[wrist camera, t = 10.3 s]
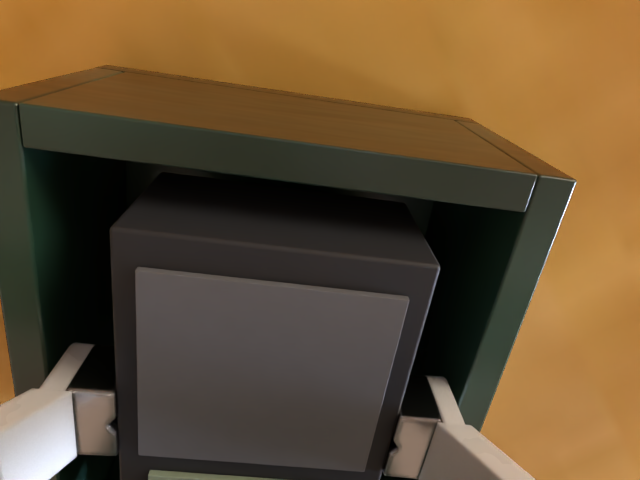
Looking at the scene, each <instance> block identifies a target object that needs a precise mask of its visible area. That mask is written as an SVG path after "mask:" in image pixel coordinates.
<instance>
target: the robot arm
mask: <svg viewBox="0 0 640 480" xmlns="http://www.w3.org/2000/svg"><path fill="white" fill-rule="evenodd" d="M117 413H118V404H117V388H116V371H115V347H114V346H107V345H98V344H97V345H95V344H87V343H78V342H75V343H73V344H71V345H70V346H69V347H68V349H67V350H66V351H65V353H64V354H63V356H62V357H61V358H60V360H59V361H58V363H57V364H56V365H55V367H54V368H53V370H52V371H51V372H50V374H49V375H48V377H47V378H46V379H45V381H44V382H43V384H42V385H41V386H40V388H39V389H35V388H32V389H30V390H28V391H26V392H24V393H22V394H20V395H18V396H16V397H14V398H12V399H11V400H9V401H7V402H5V403H3V404H1V405H0V480H49V479H51V478H52V477H53V476H54V475H55V474H57V473H58V472H59V471H60V470H61V469H63V468H64V467H65V466H66V465H67V464H69V463H70V462H71V461H72V460H73V459H75V458H76V457H77V454H82V455H104V456H117V454H118V451H119V428H118V418H117ZM383 473H384V476H394V477H404V478H414V479H419V480H536V479H535V478H533V477H532V476H531V475H530V474H529V473H527V472H526V471H525V470H524V469H523V468H521V467H520V466H519V465H518V464H517V463H515V462H514V461H513V460H512V459H511V458H509V457H508V456H507V455H506V454H505V453H504V452H502V451H501V450H500V449H499V448H498V447H496V446H495V445H494V444H493V443H492V442H490V441H489V440H488V439H487V438H486V437H484V436H483V435H482V434H481V433H480V432H478V431H477V430H476V429H475V428H474V427H473V426H471V425H465V422H464V420H463V418H462V415H461V413H460V410H459V408H458V406H457V403H456V401H455V398H454V396H453V394H452V391H451V389H450V386H449V384H448V382H447V379H446V378H444V377H441V376H427V375H425V376H420V375H410V376H409V380H408V383H407V387H406V390H405V394H404V397H403V401H402V404H401V408H400V411H399V415H398V418H397V422H396V425H395V428H394V432H393V436H392V439H391V443H390V446H389V450H388V453H387V456H386V460H385V464H384V467H383Z"/></svg>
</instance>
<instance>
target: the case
mask: <svg viewBox="0 0 640 480" xmlns="http://www.w3.org/2000/svg"><path fill="white" fill-rule="evenodd" d="M161 172H169V173H176V174H184V175H192V176H200V177H208V178H215V179H223V180H231V181H239V182H247V183H254V184H262V185H270V186H278V187H286V188H294V189H301V190H309V191H317V192H325V193H333V194H340V195H348V196H356V197H364V198H372V199H379V200H387V201H395V202H403V203H405V204H406V205H407V207H408V209H409V211H410V212H411V214H412V216H413V218H414V220H415V221H416V223H417V225H418V227H419V229H420V230H421V232H422V234H423V236H424V238H425V239H426V241H427V243H428V245H429V247H430V248H431V250H432V252H433V254H434V256H435V257H436V259H437V261H438V263H439V265H440V271H439V275H438V278H437V282H436V285H435V289H434V292H433V296H432V299H431V303H430V306H429V310H428V313H427V317H426V320H425V324H424V327H423V331H422V334H421V338H420V341H419V345H418V348H417V352H416V355H415V359H414V362H413V366H412V369H411V373H410V375H420V376H425V375H427V376H441V377H444V378H446V379H447V382H448V384H449V386H450V389H451V391H452V394H453V396H454V398H455V401H456V403H457V406H458V408H459V410H460V413H461V415H462V418H463V420H464V422H465V425H471V426H473V427H474V428H475V429H476V430H477V431H478V432H480V431H481V428H482V425H483V423H484V420H485V418H486V415H487V412H488V410H489V407H490V405H491V402H492V400H493V397H494V394H495V392H496V389H497V387H498V384H499V381H500V379H501V376H502V374H503V371H504V369H505V366H506V363H507V361H508V358H509V356H510V353H511V350H512V348H513V345H514V343H515V340H516V337H517V335H518V332H519V330H520V327H521V325H522V322H523V319H524V317H525V314H526V312H527V309H528V306H529V304H530V301H531V299H532V296H533V294H534V291H535V288H536V286H537V283H538V281H539V278H540V275H541V273H542V270H543V268H544V265H545V263H546V260H547V257H548V255H549V252H550V250H551V247H552V244H553V242H554V239H555V237H556V234H557V231H558V229H559V226H560V224H561V221H562V219H563V216H564V213H565V211H566V208H567V206H568V203H569V200H570V198H571V195H572V193H573V190H574V188H575V185H576V180H575V179H573V178H572V177H570V176H568V175H566V174H565V173H563V172H561V171H560V170H558V169H556V168H554V167H553V166H551V165H549V164H547V163H546V162H544V161H542V160H541V159H539V158H537V157H535V156H534V155H532V154H530V153H529V152H527V151H525V150H523V149H522V148H520V147H518V146H517V145H515V144H513V143H511V142H510V141H508V140H506V139H504V138H503V137H501V136H499V135H498V134H496V133H494V132H492V131H491V130H489V129H487V128H486V127H484V126H482V125H480V124H479V123H477V122H475V121H474V120H472V119H469V118H462V117H455V116H448V115H442V114H435V113H428V112H421V111H415V110H408V109H401V108H394V107H388V106H381V105H374V104H367V103H360V102H354V101H347V100H340V99H333V98H327V97H320V96H313V95H306V94H300V93H293V92H286V91H279V90H273V89H266V88H259V87H252V86H245V85H239V84H232V83H225V82H218V81H212V80H205V79H198V78H191V77H185V76H178V75H171V74H164V73H158V72H151V71H144V70H137V69H130V68H124V67H117V66H110V65H104V66H100V67H96V68H93V69H89V70H84V71H80V72H76V73H71V74H67V75H63V76H58V77H54V78H50V79H46V80H41V81H37V82H33V83H28V84H24V85H20V86H15V87H11V88H7V89H3V90H0V299H1V305H2V312H3V318H4V325H5V332H6V338H7V345H8V351H9V358H10V365H11V371H12V378H13V384H14V391H15V397H16V396H18V395H20V394H22V393H24V392H26V391H28V390H30V389H32V388H35V389H39V388H40V386H41V385H42V384H43V382H44V381H45V379H46V378H47V377H48V375H49V374H50V372H51V371H52V370H53V368H54V367H55V365H56V364H57V363H58V361H59V360H60V358H61V357H62V356H63V354H64V353H65V351H66V350H67V349H68V347H69V346H70V345H71V344H73V343H75V342H78V343H87V344H95V345H97V344H98V345H107V346H114V323H113V300H112V276H111V252H110V228H111V226H112V225H113V224H114V223H115V222H116V221H117V220H118V219H119V218H120V216H121V215H122V214H123V213H124V212H125V211H126V210H127V209H128V208H129V207H130V206H131V204H132V203H133V202H134V201H135V200H136V199H137V198H138V197H139V196H140V195H141V194H142V192H143V191H144V190H145V189H146V188H147V187H148V186H149V185H150V184H151V183H152V181H153V180H154V179H155V178H156V177H157V176H158V175H159V174H160V173H161ZM49 480H120V466H119V451H118V454H117V456H104V455H82V454H77V457H76V458H75V459H73V460H72V461H71V462H70V463H69V464H67V465H66V466H65V467H64V468H63V469H61V470H60V471H59V472H58V473H57V474H55V475H54V476H53V477H52V478H51V479H49ZM380 480H419V479H414V478H404V477H394V476H384V473H383V471H382V474H381V478H380Z"/></svg>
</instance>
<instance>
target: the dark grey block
mask: <svg viewBox="0 0 640 480" xmlns="http://www.w3.org/2000/svg"><path fill="white" fill-rule="evenodd" d="M110 252H111V276H112V300H113V323H114V347H115V371H116V388H117V404H118V413H117V418H118V428H119V466H120V480H380V478H381V474H382V471H383V467H384V464H385V460H386V456H387V453H388V450H389V446H390V443H391V439H392V436H393V432H394V428H395V425H396V422H397V418H398V415H399V411H400V408H401V404H402V401H403V397H404V394H405V390H406V387H407V383H408V380H409V376H410V373H411V369H412V366H413V362H414V359H415V355H416V352H417V348H418V345H419V341H420V338H421V334H422V331H423V327H424V324H425V320H426V317H427V313H428V310H429V306H430V303H431V299H432V296H433V292H434V289H435V285H436V282H437V278H438V275H439V271H440V265H439V263H438V261H437V259H436V257H435V256H434V254H433V252H432V250H431V248H430V247H429V245H428V243H427V241H426V239H425V238H424V236H423V234H422V232H421V230H420V229H419V227H418V225H417V223H416V221H415V220H414V218H413V216H412V214H411V212H410V211H409V209H408V207H407V205H406V204H405V203H403V202H395V201H387V200H379V199H372V198H364V197H356V196H348V195H340V194H333V193H325V192H317V191H309V190H301V189H294V188H286V187H278V186H270V185H262V184H254V183H247V182H239V181H231V180H223V179H215V178H208V177H200V176H192V175H184V174H176V173H169V172H161V173H160V174H159V175H158V176H157V177H156V178H155V179H154V180H153V181H152V183H151V184H150V185H149V186H148V187H147V188H146V189H145V190H144V191H143V192H142V194H141V195H140V196H139V197H138V198H137V199H136V200H135V201H134V202H133V203H132V204H131V206H130V207H129V208H128V209H127V210H126V211H125V212H124V213H123V214H122V215H121V216H120V218H119V219H118V220H117V221H116V222H115V223H114V224H113V225H112V226H111V228H110Z"/></svg>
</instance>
